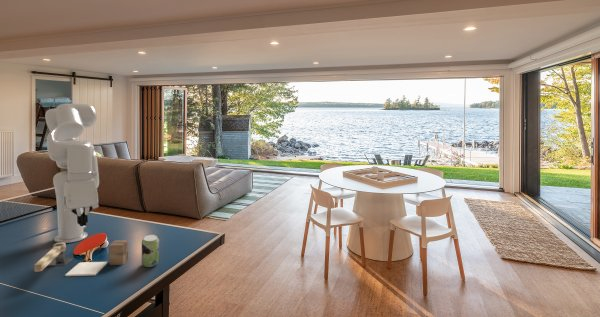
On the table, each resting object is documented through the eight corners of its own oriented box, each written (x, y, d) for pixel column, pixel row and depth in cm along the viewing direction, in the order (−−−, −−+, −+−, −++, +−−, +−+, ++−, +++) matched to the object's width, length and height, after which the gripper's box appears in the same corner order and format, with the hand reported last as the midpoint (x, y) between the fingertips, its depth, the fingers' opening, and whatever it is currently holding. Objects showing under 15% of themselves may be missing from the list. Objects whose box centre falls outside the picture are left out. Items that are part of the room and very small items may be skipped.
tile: (79, 263, 127) (79, 262, 127) (107, 263, 128) (107, 261, 128) (65, 276, 117) (65, 274, 117) (95, 275, 119) (95, 273, 118)
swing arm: (56, 258, 129) (55, 243, 128) (68, 257, 130) (67, 242, 129) (31, 283, 110) (30, 265, 109) (45, 282, 111) (44, 264, 110)
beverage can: (155, 260, 133) (154, 231, 131) (162, 266, 128) (161, 236, 126) (138, 264, 128) (138, 235, 127) (145, 271, 123) (145, 240, 122)
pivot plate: (56, 259, 130) (56, 258, 130) (72, 258, 131) (72, 258, 131) (47, 265, 124) (47, 265, 124) (64, 265, 125) (64, 264, 125)
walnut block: (115, 259, 132) (114, 240, 131) (128, 259, 133) (127, 240, 132) (109, 264, 127) (109, 245, 126) (123, 264, 128) (122, 245, 127)
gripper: (100, 173, 127) (102, 218, 129) (53, 177, 116) (55, 227, 118) (106, 176, 122) (108, 223, 124) (57, 180, 111) (60, 232, 113)
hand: (82, 225), depth 121 cm, fingers closed
